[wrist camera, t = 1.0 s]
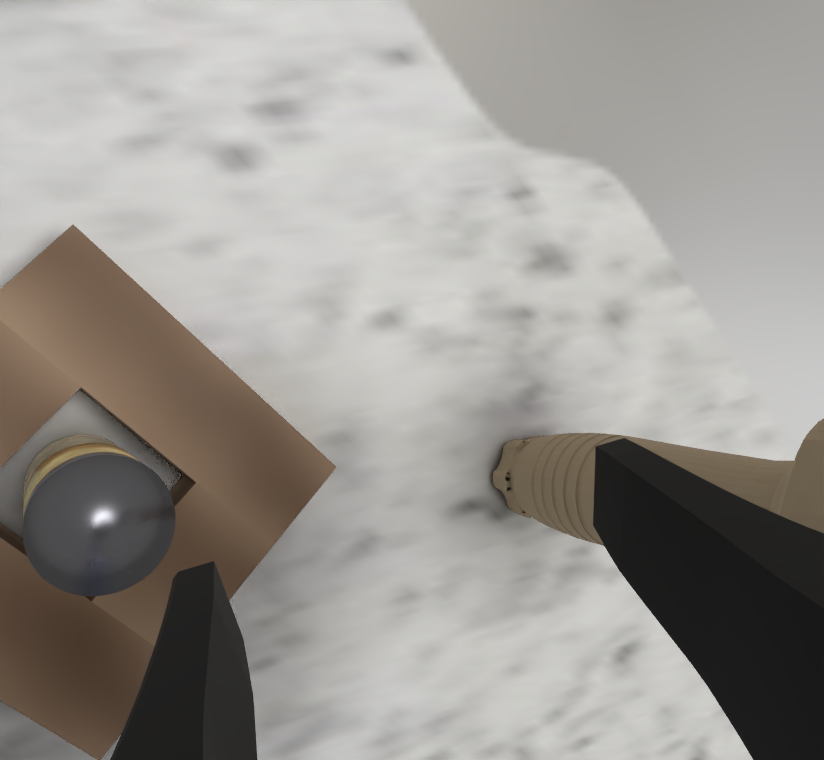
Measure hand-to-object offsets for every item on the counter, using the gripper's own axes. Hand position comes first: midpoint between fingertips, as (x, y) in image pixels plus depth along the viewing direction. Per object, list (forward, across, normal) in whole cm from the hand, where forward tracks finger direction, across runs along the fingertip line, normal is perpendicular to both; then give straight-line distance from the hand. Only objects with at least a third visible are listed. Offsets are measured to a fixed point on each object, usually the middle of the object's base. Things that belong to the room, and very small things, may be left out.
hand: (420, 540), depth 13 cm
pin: (+11, +8, +4) cm, 14 cm away
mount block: (+11, +8, +4) cm, 14 cm away
